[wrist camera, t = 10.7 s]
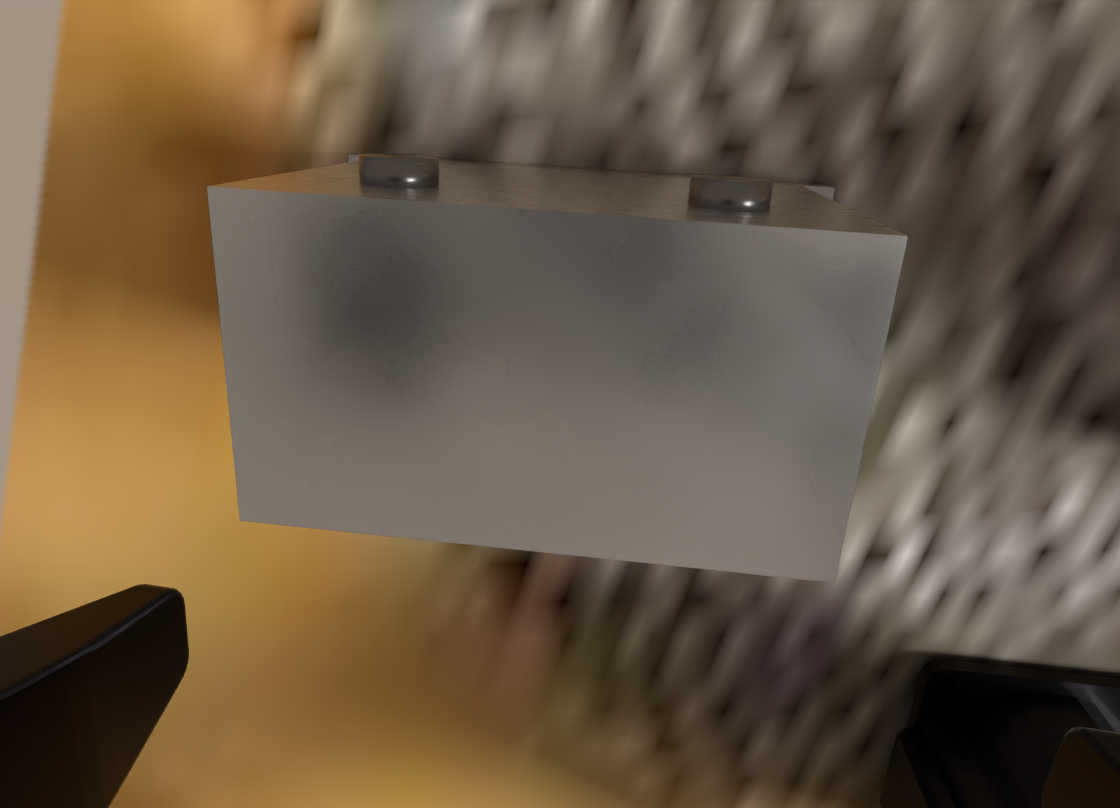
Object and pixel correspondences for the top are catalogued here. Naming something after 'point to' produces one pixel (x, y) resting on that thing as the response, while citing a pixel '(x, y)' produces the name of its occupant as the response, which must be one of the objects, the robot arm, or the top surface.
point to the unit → (553, 357)
